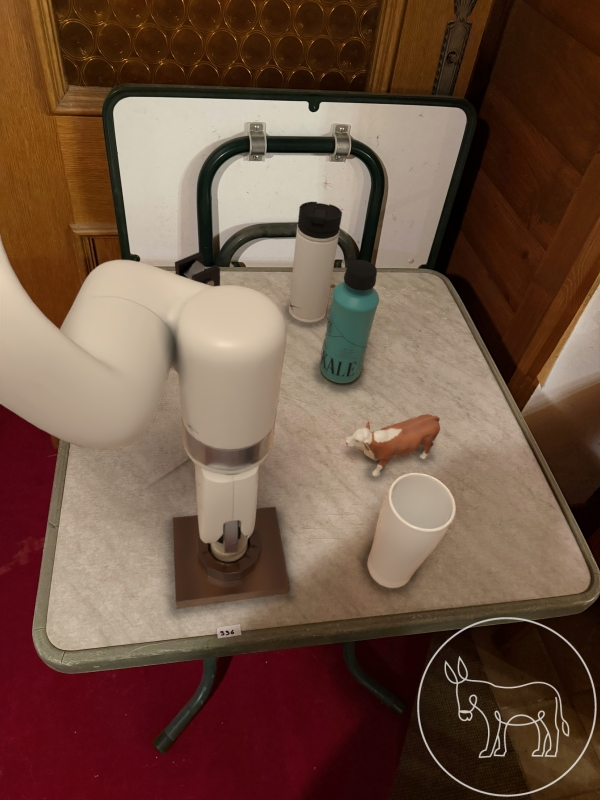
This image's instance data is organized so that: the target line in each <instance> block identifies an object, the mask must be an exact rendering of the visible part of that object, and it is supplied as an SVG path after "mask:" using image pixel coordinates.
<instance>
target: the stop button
mask: <svg viewBox="0 0 600 800" xmlns="http://www.w3.org/2000/svg"><path fill="white" fill-rule="evenodd" d="M247 543H248V539H247V537H244V534H243V533H242V532H241V538H240V539H238V552H236V553H227V554H225V552H224V544H222V543H219V542H215V543H210V544H211V551H212V553H213V555H214V556H215V557H216V558H217V559H219V560H221V561H224V562H232V561H236V560H238V559H240V558H241V557H242V556H243V555H244V554H245V552H246V550H247Z"/></svg>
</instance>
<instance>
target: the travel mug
mask: <svg viewBox="0 0 600 800" xmlns="http://www.w3.org/2000/svg"><path fill="white" fill-rule="evenodd" d="M342 217H343V212H342V210H341V209H340V208H339V207H338V206H336V205H334V204H331V203H329V204H326V203H322V202H318V201H307V202H304V203H302V204H300V206H299V210H298V219H297V225H296V234H295V244H294V254H293V263H292V273H291V281H290V282H291V283H290V292H289V300H288V309H287V310H288V314H289V316H290V317H291V318H292V319H293V320H294V321H297V322H298V323H301V324H307V325H312V324H313V325H314V324H317V323H320V322H321V321H322V320H324V319H325V317H326V314H327V308H328V302H329V296H330V290H331V284H332V280H333V279H332V278H333V273H334V267H335V260H336V255H337V249H338V244H339V243H338V242H339V237H340V229H341V223H342Z"/></svg>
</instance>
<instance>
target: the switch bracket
mask: <svg viewBox="0 0 600 800" xmlns="http://www.w3.org/2000/svg"><path fill="white" fill-rule="evenodd" d="M196 261H198V262H200V263H201V264H202V265H203V266H204V255H203V254H202V253H201V252H200V251H198V252H196V253H194V254H191V255H189V256H186V257H183V258H181V259H179V260H176V261H175V262H174V270H175V273H174V274H177V275H180V276H183V277H185V275H184V274H183V273H184V272H185V271H186V270H187V269H188V268H190V267H191V266H192V265H193V264H194V263H195V262H196ZM185 278H186V277H185ZM192 280H194V281H197V282H200V283H203V284H207V285H210V286H221V267H219V266H218V265H217V264H215V265H213V266H210V267H207V269H206V270H203V271H201V272H199V273H197V274H194V275H192Z"/></svg>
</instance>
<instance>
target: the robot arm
mask: <svg viewBox="0 0 600 800" xmlns="http://www.w3.org/2000/svg"><path fill="white" fill-rule="evenodd" d="M69 309H70V310H69V311H68V312H67V315H66V316H65V318H64V320H63V322H62V324H61V325H60V327H57V326H56V325H55V324H54V323H53V322H52V321H51V320H50V319H49V318H48V317H47V316H46V315H45V314H44V313H43V312H42V311H41V310H40V308H39V307H38V306H37V305H36V304H35V303H34V302H33V300H32V299H31V297H30V296H29V293H27V291H26V290H25V288H24V287H23V285H22V284H21V282H20V280H19V278H18V276H17V274H16V273H15V270H14V269H13V267H12V265H11V262H10V260H9V258H8V255H7V251H6V249H5V247H4V245H3V240H2V236H1V235H0V405H1V406H3V407H4V408H6V409H8V410H9V411H11V412H13V413H14V414H15V415H17V416H18V417H20V418H22V419H23V420H25V421H26V422H28V423H30V424H31V425H33V426H35V427H36V428H38V429H39V430H42V431H44V432H45V433H47V434H49V435H51V436H53V437H55V438H57V439H59V440H61V441H63V442H65V443H69V444H71V445H74V446H77V447H79V448H85V449H89V450H94V451H95V450H96V451H110V450H111V451H112V450H119V449H122V448H125V447H129V446H131V445H132V444H134V443H135V442H138V441H139V440H140V439H141V438H142V437H143V436H144V435H145V434H146V433H147V432H148V430H150V428H151V426H152V425H153V423H154V422H155V419H156V417H157V415H158V412H159V408H160V406H161V403H162V399H163V396H164V394H165V390H166V387H167V382H168V378H169V375H170V371H171V369H172V370H173V371H175V372H176V374H177V376H178V385H179V386H178V387H179V401H180V402H179V403H180V416H181V432H182V445H183V448H184V451H185V453H186V455H187V456H188V458H189V459H190V460H191V461H192V462H193V463H194V479H195V480H194V481H195V482H194V483H195V496H196V497H195V498H196V510H197V515H198V524H199V534H200V539H201V540H202V541H203V542H204V543H215V542H219V543H222V544H224V552H225V554H227V553H236V552H238V539H240V538H241V532H242V533H243V534H244V537H247V539H248V538H249V537H250V536H251V535H252V533H253V530H254V525H255V517H256V509H257V505H258V492H259V490H258V489H259V483H260V481H259V473H260V464H262V463H263V462H264V461H265V459H267V458H268V456H269V455H270V453H271V450H272V448H273V442H274V434H275V428H276V421H277V413H278V405H279V396H280V389H281V381H282V376H283V375H282V374H283V366H284V360H285V352H286V346H287V336H288V335H287V334H288V329H287V323H286V319H285V316H284V314H283V311H282V310H281V308H280V307H279V305H277V303H276V302H275V301H274V300H273V299H272V298H271V297H270V296H268V295H267V294H265V293H263V292H261V291H259V290H257V289H254V288H251V287H248V286H243V285H235V284H222V285H220V286H210V285H207V284H203V283H200V282H197V281H194V280H191V279H188V278H185V277H183V276H180V275H177V274H176V273H174V272H172V271H169V270H166V269H163V268H160V267H157V266H155V265H151V264H148V263H144V262H141V261H136V260H131V259H113V260H108V261H105V262H103V263H101V264H99V265H98V266H96V267H95V268H94V269H93V270H91V271H90V272H89V274H88V275H87V277H86V278H85V279H84V281H83V283H82V285H81V287H80V289H79V291H78V293H77V295H76V297H75V299H74V300H73V303H72V305H71V307H70V308H69Z"/></svg>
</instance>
